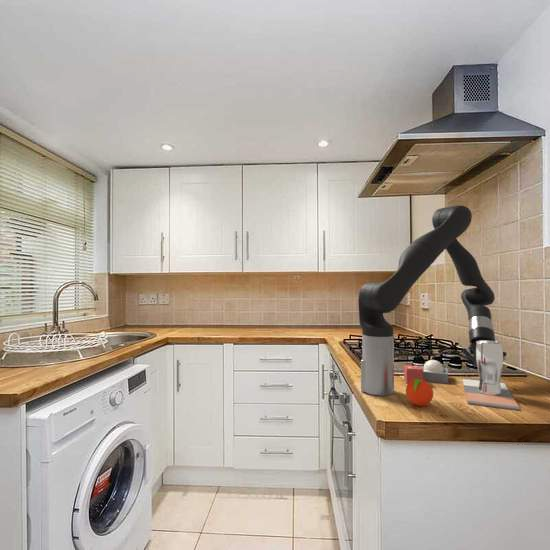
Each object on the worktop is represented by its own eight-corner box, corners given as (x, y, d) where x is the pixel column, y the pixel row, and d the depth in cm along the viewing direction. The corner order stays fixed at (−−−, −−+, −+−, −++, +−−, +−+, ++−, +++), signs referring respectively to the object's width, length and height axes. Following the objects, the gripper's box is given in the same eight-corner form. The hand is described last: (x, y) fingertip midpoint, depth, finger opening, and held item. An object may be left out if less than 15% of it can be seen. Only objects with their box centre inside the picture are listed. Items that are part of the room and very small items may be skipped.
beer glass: (478, 394, 103) (477, 343, 104) (474, 387, 110) (474, 339, 110) (506, 397, 101) (505, 344, 101) (501, 390, 107) (500, 340, 107)
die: (406, 384, 115) (406, 368, 115) (404, 379, 120) (403, 364, 120) (423, 384, 114) (422, 369, 114) (419, 380, 119) (419, 365, 119)
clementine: (428, 412, 90) (428, 384, 90) (401, 407, 94) (401, 380, 94) (436, 404, 96) (435, 378, 96) (410, 399, 100) (409, 374, 101)
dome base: (418, 380, 120) (418, 371, 120) (420, 374, 128) (420, 365, 128) (448, 383, 116) (448, 374, 116) (447, 376, 124) (447, 368, 124)
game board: (467, 403, 96) (467, 402, 96) (462, 378, 122) (462, 377, 122) (520, 410, 91) (520, 409, 91) (503, 382, 116) (503, 381, 116)
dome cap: (423, 379, 120) (422, 361, 120) (423, 375, 126) (423, 357, 126) (443, 382, 118) (443, 362, 118) (443, 377, 123) (443, 359, 123)
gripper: (459, 324, 120) (462, 369, 109) (505, 326, 114) (513, 373, 103) (458, 338, 125) (461, 382, 113) (503, 340, 119) (510, 387, 108)
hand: (486, 378), depth 108 cm, fingers closed
